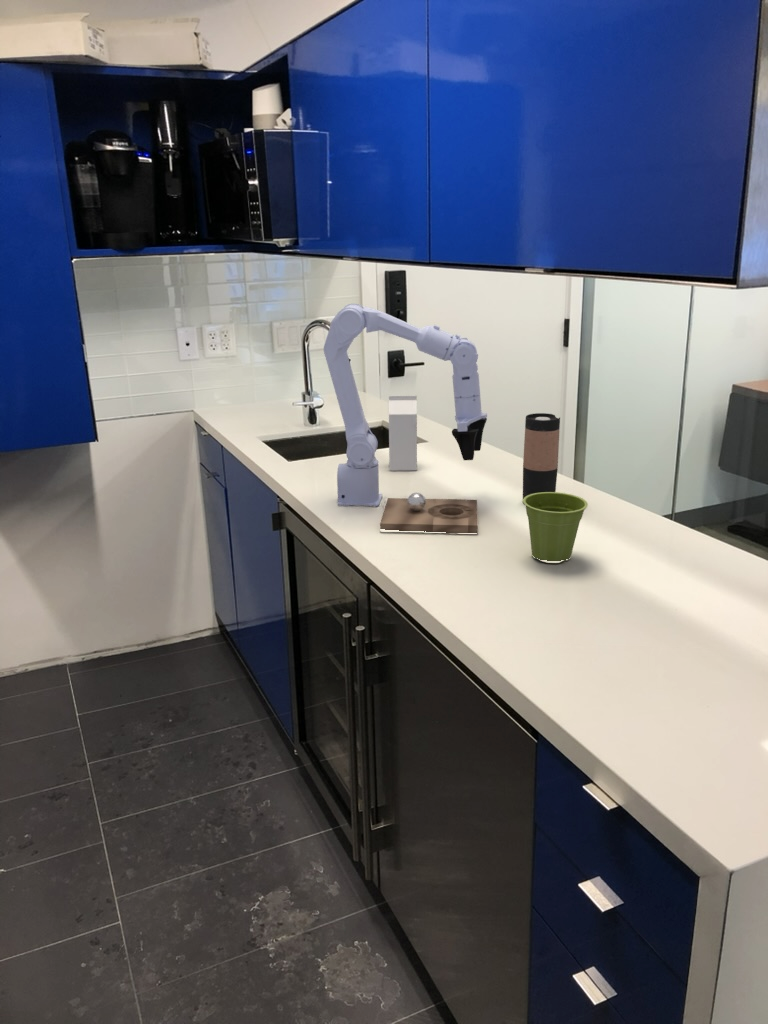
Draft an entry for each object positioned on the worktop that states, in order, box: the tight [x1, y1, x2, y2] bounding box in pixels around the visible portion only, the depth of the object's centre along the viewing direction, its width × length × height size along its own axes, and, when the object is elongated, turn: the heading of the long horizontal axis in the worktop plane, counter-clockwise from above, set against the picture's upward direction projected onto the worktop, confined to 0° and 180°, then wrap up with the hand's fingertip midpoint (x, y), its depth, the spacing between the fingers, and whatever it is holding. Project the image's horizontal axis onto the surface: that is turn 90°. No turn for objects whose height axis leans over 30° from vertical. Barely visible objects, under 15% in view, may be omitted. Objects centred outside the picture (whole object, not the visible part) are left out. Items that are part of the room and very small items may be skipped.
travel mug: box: [522, 412, 561, 504], centre depth 186 cm, size 8×8×20 cm
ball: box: [407, 492, 426, 511], centre depth 178 cm, size 4×4×4 cm
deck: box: [379, 497, 479, 534], centre depth 179 cm, size 20×17×2 cm
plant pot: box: [522, 492, 589, 561], centre depth 156 cm, size 12×12×11 cm
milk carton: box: [388, 395, 418, 472], centre depth 215 cm, size 7×7×19 cm
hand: (472, 455), depth 186 cm, fingers open, 7 cm apart
